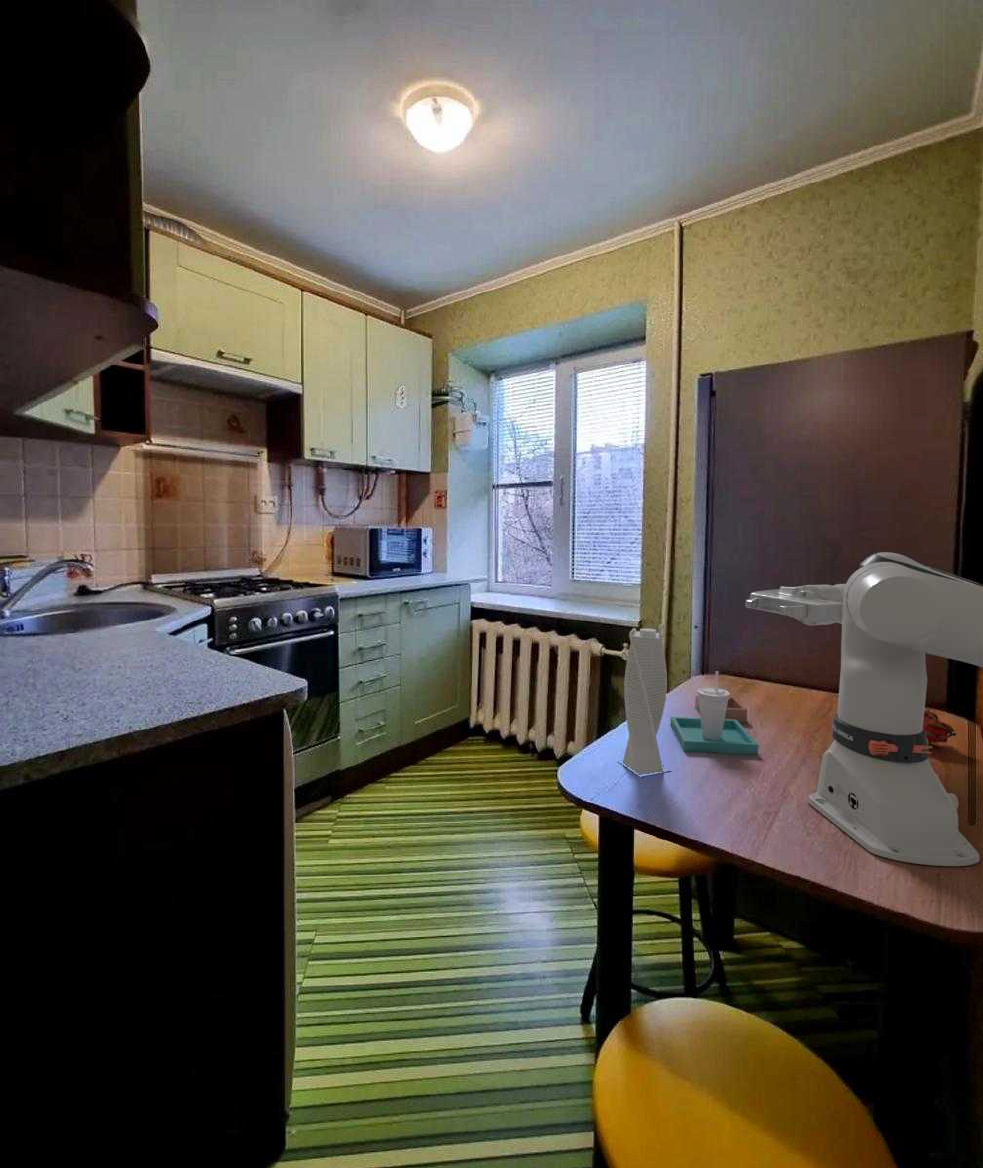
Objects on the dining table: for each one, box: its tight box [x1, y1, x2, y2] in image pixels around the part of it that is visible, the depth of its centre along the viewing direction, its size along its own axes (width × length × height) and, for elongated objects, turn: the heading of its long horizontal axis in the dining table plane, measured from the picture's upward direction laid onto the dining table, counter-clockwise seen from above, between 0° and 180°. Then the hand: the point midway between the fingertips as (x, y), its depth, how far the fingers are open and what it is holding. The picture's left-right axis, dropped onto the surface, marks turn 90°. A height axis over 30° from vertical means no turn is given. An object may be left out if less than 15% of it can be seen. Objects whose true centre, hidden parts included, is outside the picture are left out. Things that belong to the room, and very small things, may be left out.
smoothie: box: [696, 670, 731, 740], centre depth 116 cm, size 6×6×14 cm
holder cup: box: [694, 695, 748, 723], centre depth 132 cm, size 9×9×3 cm
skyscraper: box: [622, 622, 668, 775], centre depth 102 cm, size 8×8×28 cm
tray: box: [670, 716, 759, 756], centre depth 117 cm, size 14×14×2 cm
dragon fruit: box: [923, 708, 957, 749], centre depth 115 cm, size 8×8×12 cm
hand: (764, 607), depth 118 cm, fingers open, 8 cm apart
